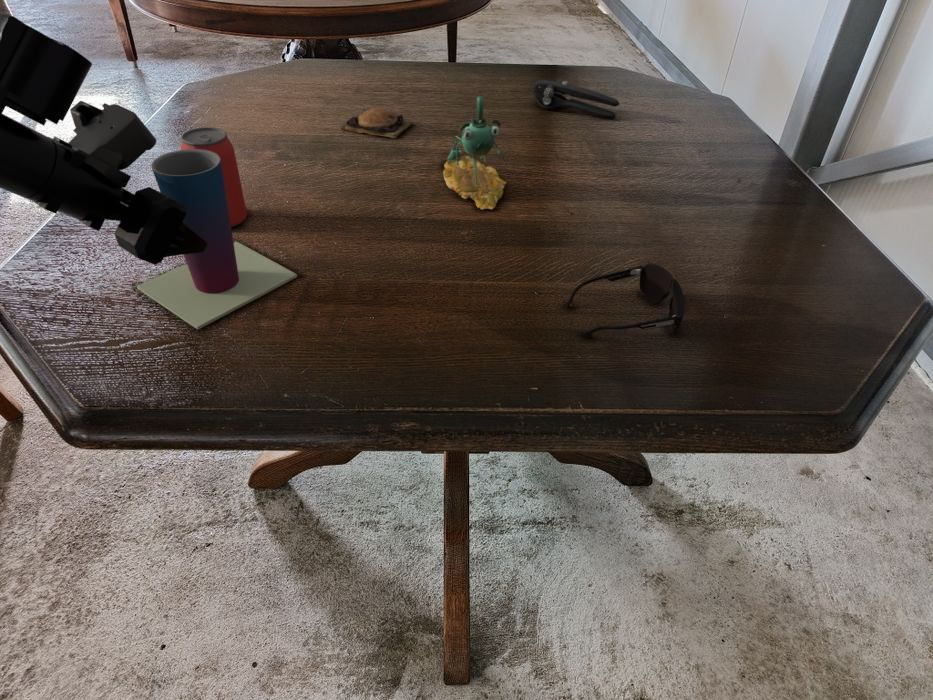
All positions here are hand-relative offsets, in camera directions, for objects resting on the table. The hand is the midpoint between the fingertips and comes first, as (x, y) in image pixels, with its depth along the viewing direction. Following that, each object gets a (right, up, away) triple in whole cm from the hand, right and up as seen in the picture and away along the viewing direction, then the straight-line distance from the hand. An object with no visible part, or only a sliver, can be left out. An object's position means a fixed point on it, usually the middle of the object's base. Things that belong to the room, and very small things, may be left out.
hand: (179, 233), depth 68 cm
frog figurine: (+33, +13, +31) cm, 47 cm away
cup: (+1, -5, +7) cm, 8 cm away
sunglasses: (+50, -9, +5) cm, 51 cm away
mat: (+1, -5, +7) cm, 9 cm away
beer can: (-3, +5, +19) cm, 20 cm away
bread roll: (+15, +28, +48) cm, 57 cm away
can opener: (+53, +35, +59) cm, 87 cm away
